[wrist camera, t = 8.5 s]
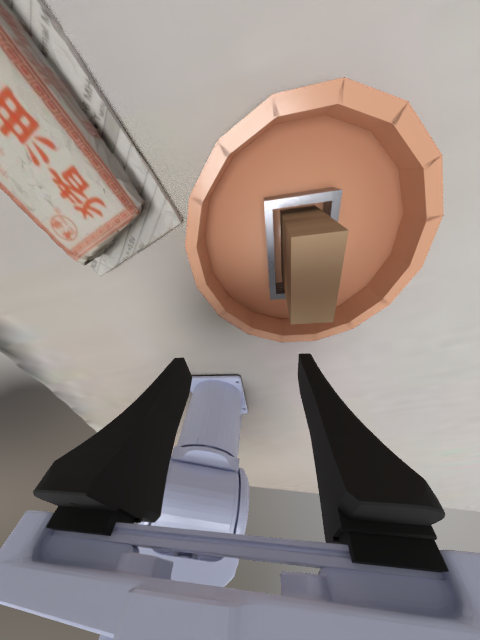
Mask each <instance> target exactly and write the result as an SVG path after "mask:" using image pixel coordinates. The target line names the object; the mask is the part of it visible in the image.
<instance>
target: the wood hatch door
mask: <svg viewBox="0 0 480 640" xmlns="http://www.w3.org/2000/svg"><path fill="white" fill-rule="evenodd" d="M280 230H281V275H282V280H283V286H284V291H285V297H286V302H287V308H288V313H289V318H290V324H291V325H293V324H310V323H328V322H333V321H334V315H335V309H336V303H337V297H338V291H339V285H340V279H341V273H342V267H343V261H344V255H345V249H346V243H347V237H348V231H349V230H348V229H346V228H345V227H344V226H342V225H341V224H340V223H338V222H337V221H335V220H334V219H333V218H331V217H330V216H329V215H327V214H326V213H325V212H323V211H322V210H321V209H319V208H318V207H317V206H315V205H312V206H305V207H298V208H291V209H284V210H280Z"/></svg>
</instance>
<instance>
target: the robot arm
mask: <svg viewBox="0 0 480 640" xmlns="http://www.w3.org/2000/svg"><path fill="white" fill-rule="evenodd" d="M298 381H299V388H300V394H301V398H302V403H303V407H304V411H305V415H306V419H307V423H308V427H309V431H310V436H311V441H312V448H313V454H314V461H315V467H316V474H317V481H318V488H319V495H320V503H321V510H322V518H323V525H324V534H325V540H326V543H322V542H312V541H301V540H291V539H282V538H272V537H261V536H251V535H244V533H245V530H246V524H247V518H248V508H249V483H248V478H247V476H246V474H245V471H244V470H243V469H242V468H239V458H237V455H238V451H239V440H240V428H241V416H242V414H247V413H248V409H247V404H246V400H245V395H244V391H243V386H242V382H241V378H240V376H191V373H190V371H189V369H188V366H187V364H186V362H185V360H184V358H174V360H173V361H172V362H171V363H170V364H169V365H168V366H167V367H166V369H165V370H164V371H163V372H162V373H161V374H160V375H159V376H158V378H157V379H156V380H155V381H154V382H153V383H152V384H151V385H150V386H149V387H148V388H147V389H146V391H145V392H144V393H143V394H142V395H141V396H140V397H139V398H138V399H137V400H136V401H135V402H134V403H132V404H131V405H130V406H129V407H128V408H127V409H126V410H125V411H124V412H122V413H121V414H120V415H119V416H118V417H117V418H115V419H114V420H113V421H112V422H110V423H109V424H108V425H107V426H105V427H104V428H103V429H101V430H100V431H99V432H97V433H96V434H95V435H94V436H92V437H91V438H89V439H88V440H86V441H85V442H84V443H82V444H81V445H79V446H78V447H76V448H75V449H73V450H71V451H70V452H68V453H67V454H65V455H64V456H62V457H61V458H59V459H57V460H56V461H54V463H53V464H52V466H51V467H50V469H49V470H48V471H47V473H46V474H45V475H44V477H43V478H42V480H41V481H40V483H39V484H38V486H37V487H36V488H35V490H34V491H33V494H34V496H36V497H38V498H40V499H42V500H45V501H47V502H50V503H52V504H55V505H57V506H58V508H57V510H56V511H55V513H51V512H44V511H34V510H28V511H26V512H25V514H24V515H23V517H22V518H21V520H20V521H19V523H18V524H17V526H16V527H15V528H14V530H13V531H12V533H11V534H10V536H9V537H8V539H7V540H6V542H5V543H4V545H3V546H2V548H1V549H0V604H2V605H5V606H9V607H13V608H16V609H19V610H23V611H26V612H29V613H32V614H36V615H39V616H42V617H45V618H49V619H52V620H56V621H59V622H62V623H65V624H68V625H72V626H75V627H78V628H81V629H85V630H88V631H91V632H94V633H98V634H100V637H99V640H480V553H474V552H463V551H454V550H440V551H439V549H438V547H437V545H436V543H435V540H436V539H437V537H436V534H435V532H434V530H433V528H432V526H431V525H432V524H434V523H436V522H438V521H440V520H442V519H443V518H444V516H445V512H444V510H443V508H442V506H441V504H440V503H439V501H438V499H437V497H436V496H435V494H434V493H433V491H432V490H431V488H430V487H429V485H428V484H427V482H426V481H425V479H423V478H422V477H421V476H420V475H419V474H417V473H416V472H415V471H414V470H413V469H411V468H410V467H409V466H408V465H407V464H406V463H404V462H403V461H402V460H401V459H400V458H399V457H397V456H396V455H395V454H394V453H393V452H392V451H391V450H390V449H389V448H387V447H386V446H385V445H384V444H383V443H382V442H381V441H380V440H379V439H378V438H377V437H376V436H375V435H374V434H373V433H372V432H371V431H370V430H369V429H368V428H367V427H366V426H365V425H364V424H363V423H362V422H361V421H360V420H359V419H358V418H357V417H356V416H355V415H354V414H353V412H352V411H351V410H350V409H349V408H348V407H347V406H346V404H345V403H344V402H343V401H342V400H341V398H340V397H339V396H338V395H337V393H336V392H335V391H334V389H333V388H332V387H331V385H330V384H329V382H328V381H327V380H326V378H325V377H324V375H323V374H322V372H321V371H320V369H319V367H318V366H317V364H316V362H315V361H314V359H313V357H312V355H311V354H299V363H298ZM190 391H191V393H192V397H191V400H190V404H189V407H188V410H187V414H186V417H185V420H184V424H183V427H182V430H181V433H180V437H179V440H178V443H177V446H175V447H174V450H173V453H172V449H173V445H174V441H175V436H176V433H177V429H178V426H179V423H180V420H181V417H182V414H183V411H184V408H185V405H186V402H187V399H188V396H189V393H190ZM171 454H172V456H171ZM134 522H136V523H138V524H133V523H134ZM239 559H246V560H253V561H262V562H271V563H279V564H287V565H297V566H305V567H314V568H322V569H321V570H320V571H319V573H318V575H317V574H311V573H300V572H284V571H282V573H281V595H274V594H268V593H261V592H254V591H246V590H239V589H232V588H225V587H224V586H225V585H226V584H227V583H228V582H230V581H231V579H232V578H233V577H234V576H235V572H236V567H237V566H238V562H239Z"/></svg>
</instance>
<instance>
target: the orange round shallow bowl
mask: <svg viewBox="0 0 480 640" xmlns="http://www.w3.org/2000/svg"><path fill="white" fill-rule="evenodd" d="M329 187H335V188H339V189H342V197H341V204H340V212H339V219H338V223H340V224H341V225H342V226H344V227H345V228H346V229H348V230H349V231H348V237H347V243H346V249H345V255H344V261H343V267H342V273H341V279H340V285H339V291H338V297H337V303H336V309H335V315H334V321H333V322H328V323H310V324H293V325H291V324H290V318H289V313H288V308H287V302H286V299H276V300H270V289H269V273H268V257H267V241H266V225H265V210H264V197H270V196H277V195H283V194H290V193H296V192H303V191H309V190H316V189H322V188H329ZM312 205H315V206H317V207H318V208H319V209H321V210H322V211H323V206H324V202H319V203H313V204H306V205H299V206H292V207H285V208H278V209H272V210H273V234H274V258H275V282H276V283H280V282H283V280H282V275H281V230H280V210H284V209H291V208H298V207H305V206H312ZM442 217H443V167H442V154H441V152H440V151H439V149H438V148H437V146H436V144H435V143H434V141H433V140H432V138H431V137H430V135H429V133H428V132H427V130H426V129H425V127H424V125H423V124H422V122H421V121H420V119H419V118H418V116H417V114H416V113H415V111H414V110H413V108H412V107H411V105H410V103H409V101H406V100H403V99H401V98H398V97H395V96H393V95H390V94H387V93H385V92H382V91H379V90H377V89H374V88H372V87H369V86H366V85H364V84H361V83H358V82H356V81H353V80H350V79H348V78H345V77H344V78H340V79H335V80H331V81H327V82H322V83H318V84H314V85H309V86H305V87H301V88H296V89H292V90H288V91H283V92H279V93H275V94H272V95H271V96H270V97H268V98H267V99H266V100H265V101H264V102H262V103H261V104H260V105H259V106H258V107H257V108H255V109H254V110H253V111H252V112H251V113H249V114H248V115H247V116H246V117H245V118H243V119H242V120H241V121H240V122H239V123H238V124H236V125H235V126H234V127H233V128H232V129H230V130H229V131H228V132H227V133H226V134H224V135H223V136H222V137H221V138H220V139H219V140H217V142H216V144H215V146H214V148H213V150H212V152H211V154H210V156H209V158H208V160H207V162H206V164H205V166H204V168H203V170H202V172H201V174H200V176H199V178H198V180H197V182H196V184H195V186H194V188H193V190H192V192H191V194H190V196H189V206H188V218H187V230H186V242H185V249H186V252H187V255H188V259H189V262H190V265H191V269H192V272H193V275H194V279H195V282H196V285H197V288H198V289H199V290H200V292H201V293H202V294H203V296H204V297H205V298H206V299H207V301H208V302H209V303H210V305H211V306H212V307H213V308H214V310H215V311H216V312H217V314H218V315H219V316H220V317H222V318H223V319H225V320H227V321H228V322H230V323H231V324H233V325H234V326H236V327H238V328H239V329H241V330H242V331H244V332H246V333H247V334H250V335H254V336H258V337H262V338H266V339H270V340H274V341H278V342H296V341H316V340H319V339H322V338H325V337H329V336H332V335H335V334H338V333H341V332H344V331H347V330H350V329H353V328H354V327H356V326H358V325H359V324H361V323H362V322H364V321H365V320H367V319H368V318H370V317H371V316H373V315H374V314H376V313H377V312H379V311H380V310H382V309H383V308H385V307H387V306H388V305H390V303H391V302H392V301H393V300H394V299H395V298H396V297H397V295H398V294H399V293H400V292H401V291H402V290H403V288H404V287H405V286H406V285H407V284H408V283H409V281H410V280H411V279H412V278H413V277H414V276H415V275H416V273H417V272H418V271H419V270H420V269H421V268H422V266H423V264H424V261H425V259H426V256H427V254H428V251H429V249H430V247H431V244H432V242H433V239H434V237H435V234H436V232H437V230H438V227H439V225H440V222H441V220H442Z"/></svg>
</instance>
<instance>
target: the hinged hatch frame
mask: <svg viewBox="0 0 480 640" xmlns="http://www.w3.org/2000/svg"><path fill="white" fill-rule="evenodd" d="M341 197H342V189H339V188H335V187H329V188H322V189H316V190H309V191H303V192H296V193H290V194H283V195H277V196H270V197H264V210H265V225H266V241H267V257H268V273H269V289H270V300H276V299H286V297H285V291H284V286H283V282H280V283H276V282H275V258H274V234H273V210H272V209H278V208H285V207H292V206H299V205H306V204H313V203H319V202H324V206H323V212H325V213H326V214H327V215H329V216H330V217H331V218H333V219H334V220H335V221H337V222H338V219H339V212H340V204H341Z"/></svg>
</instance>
